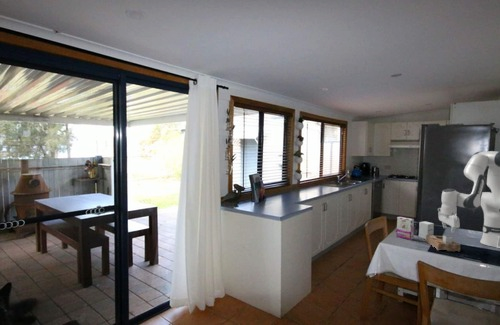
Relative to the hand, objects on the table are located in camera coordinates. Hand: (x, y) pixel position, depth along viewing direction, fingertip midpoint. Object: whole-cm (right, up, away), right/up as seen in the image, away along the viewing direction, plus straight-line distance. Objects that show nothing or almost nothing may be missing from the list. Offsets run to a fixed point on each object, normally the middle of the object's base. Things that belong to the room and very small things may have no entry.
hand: (448, 230), depth 190 cm
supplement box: (-1, -13, +24) cm, 27 cm away
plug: (-1, -14, +1) cm, 14 cm away
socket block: (-1, -14, +5) cm, 15 cm away
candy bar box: (-18, -13, +24) cm, 32 cm away
